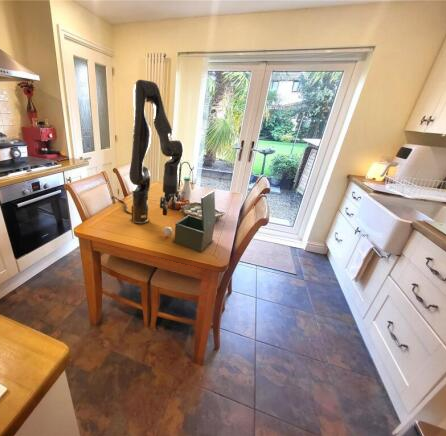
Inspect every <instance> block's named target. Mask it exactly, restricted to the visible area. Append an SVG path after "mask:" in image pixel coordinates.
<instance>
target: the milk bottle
mask: <svg viewBox="0 0 446 436" xmlns="http://www.w3.org/2000/svg"><path fill="white" fill-rule="evenodd" d="M180 199H181V200H189V201H190V203H192V186H191V177H188V176H184V178H183V183H182V185H181V188H180V194H179V200H180Z"/></svg>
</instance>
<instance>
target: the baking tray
mask: <svg viewBox="0 0 446 436" xmlns="http://www.w3.org/2000/svg"><path fill="white" fill-rule="evenodd" d="M180 208H181V209H180V210H179V212H181V213H183V214H185V215H186V216H188V215H190V216H193V217H197V218H200V219H202V209H201V202H196V201H195V202H191V203H189V204H188V205H185V206H182V205H180ZM226 214H227V213H226V212H225V211H219V210H217V209H216V208H215V221H217V220H219V219H220V218H223V216H224V215H226Z"/></svg>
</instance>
